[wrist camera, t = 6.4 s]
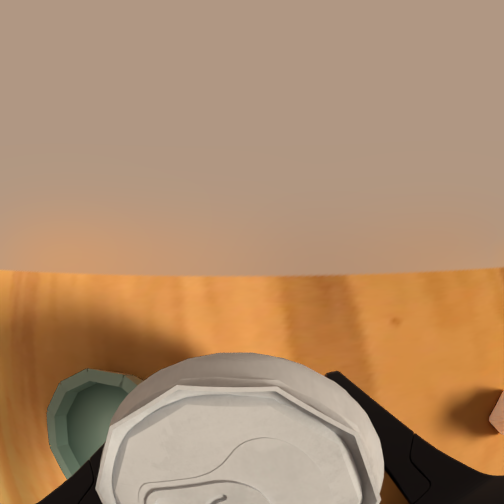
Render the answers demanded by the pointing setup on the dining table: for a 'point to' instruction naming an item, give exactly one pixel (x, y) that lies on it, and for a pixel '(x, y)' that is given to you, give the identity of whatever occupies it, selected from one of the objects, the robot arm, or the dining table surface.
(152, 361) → the dining table surface
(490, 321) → the dining table surface
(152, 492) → the beer can
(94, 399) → the bowl
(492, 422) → the pepper shaker
